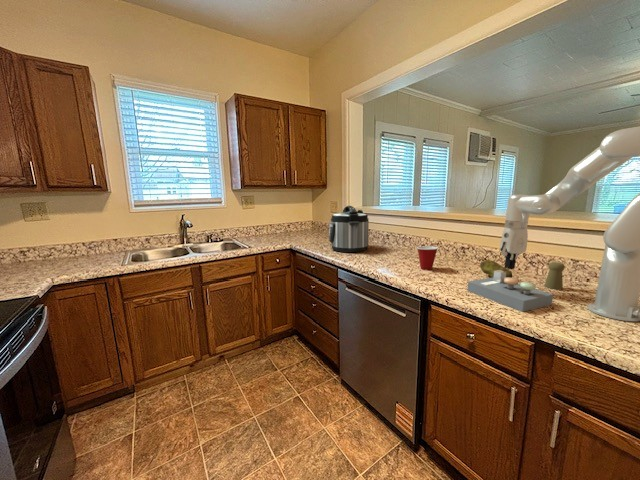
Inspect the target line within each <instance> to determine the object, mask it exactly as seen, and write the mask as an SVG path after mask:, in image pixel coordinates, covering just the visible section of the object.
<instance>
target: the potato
mask: <svg viewBox="0 0 640 480" xmlns="http://www.w3.org/2000/svg"><path fill="white" fill-rule="evenodd" d="M479 267H480V269H481V271H482V272H483V273H484V274H485V275H488V276H489V278H492V277H494V271H496V270H501V271H505V272H506V277H510V278H513V272H512V270H511V269H508V268H505V267H504V265H501V264H499V263H498V262H497V261H494V260H490V259H485V260H483V261H481V262H480V264H479Z"/></svg>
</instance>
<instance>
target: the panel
mask: <svg viewBox="0 0 640 480" xmlns="http://www.w3.org/2000/svg"><path fill="white" fill-rule="evenodd" d="M520 284H521V283H518V285H514V289H513V290H509V289H507V285H508V284H507V283H504V282H498V281H495V280H493V277H487V278H482V279H475V280H470V281H467V289H466V290H467V292H470V293H472V294H475V295H478V296H480V297H481V298H482V297H483V298H484V299H485V298H486V299H488V300H490V301H493V302H496V303H499V304H501V305H503V306H506V307H509V308H511V309H513V310H516V311H519V312H520V313H521V312H522V313H524V312H529V311H532V310H536V309H539V308H545V307H548V306H552V305H553V300H554V293H550V292H547V291H543V290H540V289H536V288H535V290H531V293H530V296H527V295H524V294H523V293H524V289H523V288H521V287H520Z"/></svg>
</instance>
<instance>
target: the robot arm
mask: <svg viewBox="0 0 640 480" xmlns="http://www.w3.org/2000/svg"><path fill="white" fill-rule="evenodd" d="M635 157H640V126H639V125H638V126H634V127H627V128H621V129H618V130H615V131H613V132H611V133H608V134H607V135H606V136H605V137H603V139H602V141H601V142H600V145H599V146H598V147H597V148H596V149H594V150H593V151H592V152H591V153H589V154H587V155H586V156H585V157H583V159H581V160H579V162H577V163H576V164H574V165H573V166H571V167H570V169H569V170H568V172H567V174H566V176H565V177H564V178H562V180H560V182H558V184H556V185H555V186H554V187H552V188H551V189H550V190H549V191H547V192H546V193H544V194H536V195H529V194H511V195H510V196H509V197H508V198H507V207H506V213H505V215H506V216H505V221H504V228H503V231H502V235H501V239H500V244H499V251H500V252H501V253H500V254H501V256H504V265H503V267H505V268H507V269H508V270H515V268H516V263H517V262H516V261H517V259H518V256H519V255H521V254H522V253H525V252H527V247H528V235H529V233H528V232H529V231H528V224H529V217H530V214H533V215H535V216H537V215H538V216H541V215H548V214H552V213H555V212H556V211H557V210H560V209H561V208H562V207H564V206H565V205H566V204H568V203H569V202H571V201H572V200H574V199H575V198H577V197H578V196H579V195H580V194H582V193H583V192H585V191H587V190H588V189H590V187H592V186H593V185H595V184H597V182H599V181H600V180H602V179H603V178H605V177H606V176H607V175H608V174H610V173H613V171H614V170H616V169H618V168H619V167H620V166H621V167H622V165H623V164H625V163H626V162H628V161H630V160H631V159H632V158H635ZM603 242H604V244H605V245H604V250H603V254H602V260H601V265H600V270H599V277H598V283H597V289H596V293H595V299H594V302H590V303H588V304H587V310H589V311H590V312H592V313H595V314H597V315H600V316H602V317H605V318H609V319H611V320H612V319H613V320H618V321H624V322H625V321H626V322H640V303H639V301H640V192H639V193H638V194H636V195H635V196H634V197H633V198H632V199H631V200H630V202H629V203H628V204H627V205H626V206H625V207H624V208H623V210H622V211H621V212H620V213H619V215H617V217H616V218H615V219H614V220H613V221H612V222H611V223H610V225H609V226H608V227H607V228H606V229H605V231H604V232H603Z"/></svg>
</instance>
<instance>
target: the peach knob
mask: <svg viewBox="0 0 640 480" xmlns="http://www.w3.org/2000/svg"><path fill="white" fill-rule="evenodd" d="M504 283H507V284H508V285H507V289H509V290H513V289H514V285H518V284H519V279H518V278H515V277H512V278H510V277H506V278H504Z"/></svg>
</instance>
